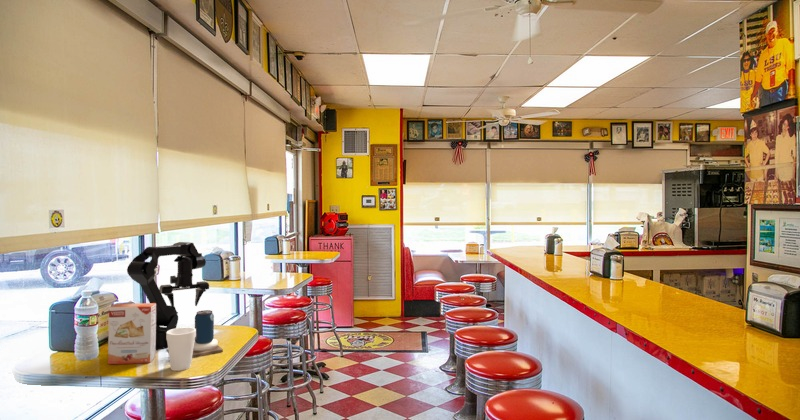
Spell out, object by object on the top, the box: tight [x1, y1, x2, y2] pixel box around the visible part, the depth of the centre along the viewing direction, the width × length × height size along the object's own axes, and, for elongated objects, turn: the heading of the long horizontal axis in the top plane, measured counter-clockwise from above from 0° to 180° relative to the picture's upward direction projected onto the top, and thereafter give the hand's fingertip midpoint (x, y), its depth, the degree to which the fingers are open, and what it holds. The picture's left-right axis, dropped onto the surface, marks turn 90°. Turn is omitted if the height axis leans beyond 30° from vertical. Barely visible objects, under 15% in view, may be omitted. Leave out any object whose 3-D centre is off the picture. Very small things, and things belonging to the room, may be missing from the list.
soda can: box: [194, 309, 215, 344], centre depth 176 cm, size 7×7×12 cm
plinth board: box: [192, 338, 224, 359], centre depth 175 cm, size 16×16×3 cm
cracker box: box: [107, 302, 157, 365], centre depth 161 cm, size 14×6×21 cm, turn 101°
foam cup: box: [166, 326, 196, 372], centre depth 156 cm, size 10×9×13 cm
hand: (184, 307), depth 191 cm, fingers open, 9 cm apart
